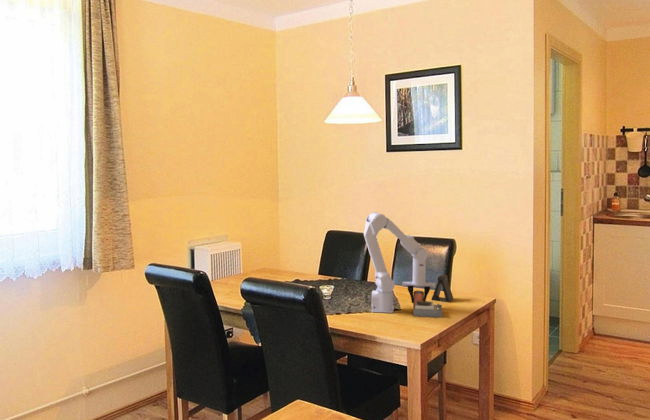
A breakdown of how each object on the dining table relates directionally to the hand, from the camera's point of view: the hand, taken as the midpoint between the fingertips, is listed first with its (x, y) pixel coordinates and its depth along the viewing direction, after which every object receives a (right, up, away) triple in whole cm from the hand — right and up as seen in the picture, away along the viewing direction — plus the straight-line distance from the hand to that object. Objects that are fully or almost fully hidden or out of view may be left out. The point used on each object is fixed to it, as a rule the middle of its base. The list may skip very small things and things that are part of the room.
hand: (418, 302), depth 254 cm
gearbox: (+2, -3, -9) cm, 10 cm away
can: (0, -2, 0) cm, 2 cm away
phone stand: (+14, -1, +14) cm, 20 cm away
